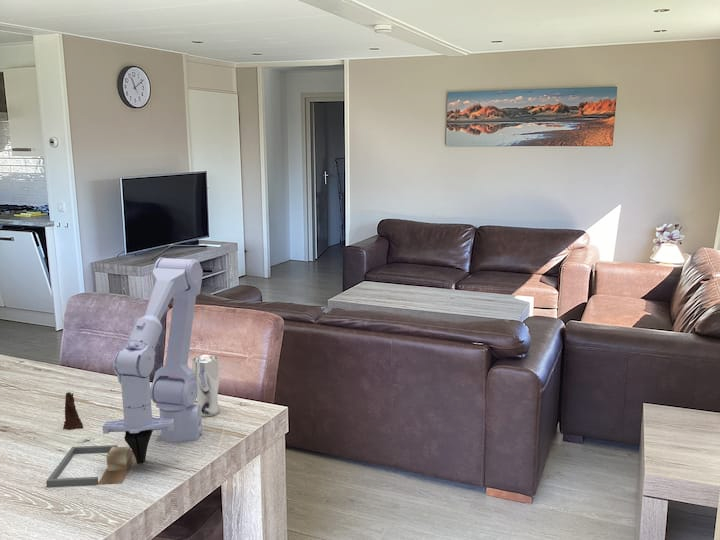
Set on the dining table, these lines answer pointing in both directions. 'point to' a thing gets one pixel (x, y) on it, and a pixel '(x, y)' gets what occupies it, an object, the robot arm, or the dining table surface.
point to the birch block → (119, 458)
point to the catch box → (53, 480)
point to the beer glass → (207, 383)
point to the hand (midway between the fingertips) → (141, 461)
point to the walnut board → (115, 474)
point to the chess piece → (71, 414)
